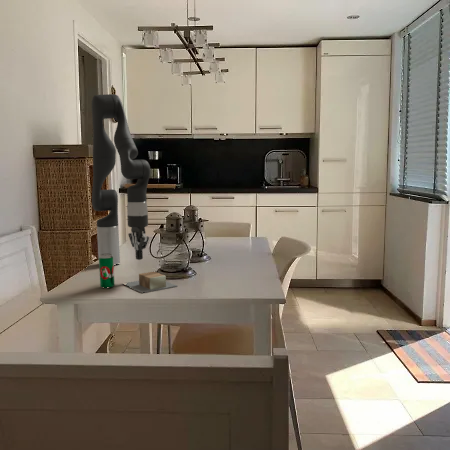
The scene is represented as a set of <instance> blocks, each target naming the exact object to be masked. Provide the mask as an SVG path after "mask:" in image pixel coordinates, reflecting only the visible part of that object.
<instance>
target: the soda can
mask: <svg viewBox="0 0 450 450" xmlns="http://www.w3.org/2000/svg"><path fill="white" fill-rule="evenodd" d="M98 269H99V270H98V271H99V285H100V288H101V287H104V288H107V287H112V288H114V287H115V285H116V283H115V266H114V261H113V256H112V254H110V253H105V254H100V257H99V258H98ZM113 286H114V287H113ZM104 288H103V289H104Z"/></svg>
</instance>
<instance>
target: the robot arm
mask: <svg viewBox="0 0 450 450" xmlns="http://www.w3.org/2000/svg"><path fill="white" fill-rule="evenodd" d="M91 98H92V99H91V118H92V120H91V121H92V132H93V134H92V135H93V137H92V173H93V174H92V176H93V177H92V178H93V179H92V189H91V190H92V192H91V205H92V209H93V210H94V211H96V212H107V211H109V213H108V214H107V215H105V216H104V217H100V218H99V219H97V220H96V233H97V234H96V235H97V238H96V239H97V254H98V259H99V257H100V254H105V253H110V254H112V256H113V261H114V264H118V263H120V264H121V255H120V253H121V252H120V250H121V249H120V233H119V231H120V230H119V208H118V207H119V197H118V196H119V195H118V193H117V190H116V189H114V188H113V189H111V188H110V189H102V187H103V184H104V182H105V181H106V179H107V177H108V176H109V175H110V174H111V173H112V171H113V170H114V168H115V166H116V161H117V159H116V158H117V155H116V154H118V155H119V161H120V172H121V175H122V176H123V177H124V178H125V179H126V180H137V181H136V182H135V184H134V185H133V184H132V185H129V186H128V187H127V190H126V198H127V200H126V201H127V204H126V206H127V207H126V209H127V211H126V214H127V227H129V228H130V231H131V232H130V233H128V238H129V241H130V244H131V247H132V248H134V250H135V259H136V260H137V261H140V260H143V258H144V257H143V255H144V254H143V250H145V249H146V248H147V246H148V243H149V239H150V238H149V236H147V235H146V233H147V232H146V227H148V225H149V214H148V213H149V211H148V210H149V209H148V203H147V201H148V200H147V189H148V184H149V179H150V175H151V166H150V163H149V162H148V161H147V160H146V159H136V158H137V156H138V155H139V151H138V148H137V146H136V143H135V142H134V139H133V137H132V134H131V132H130V128H129V124H128V120H127V115H126V113H125V109H124V105H123V101H122V100H121V98H120V96H119V95H117V94H114V93H113V94H112V93H109V94H96V95H93V96H92V97H91ZM104 119H105V120H106V119H108V120H109V119H116V122H117V125H116V128H115V132H114V135H113V141H112V140H111V138H110V137H109V135H108V134H107V132H106V130H105V128H104Z"/></svg>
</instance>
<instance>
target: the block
mask: <svg viewBox="0 0 450 450" xmlns="http://www.w3.org/2000/svg"><path fill="white" fill-rule="evenodd" d="M166 278H167V277H166V275H164V274H161V273H159V272H156V271H148V272H143V273H138V281H139V285H141V286H144V287H146V288H148V289H157V288H162V287H166V281H167V279H166Z"/></svg>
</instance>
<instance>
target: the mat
mask: <svg viewBox="0 0 450 450" xmlns="http://www.w3.org/2000/svg"><path fill="white" fill-rule="evenodd" d="M126 283H127V284H126V285H127V286H129V287H131V288H133V289H135V290H134V291H136V290H137V291H136V292H138V291H139V293H140V292H146V293H150V292H149V291H152V292H157V291H161V290H166V289H167V290H168V289H172V288H177V287H178V285H177V284H175V283H172V282H169V281H167V280H166V287H162V288H157V289H148V288H146V287H144V286H141V285H139V280H134V281H128V282H126ZM127 286H126V287H127ZM129 287H128V288H129ZM131 288H130V289H131ZM133 289H132V290H133Z"/></svg>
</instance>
